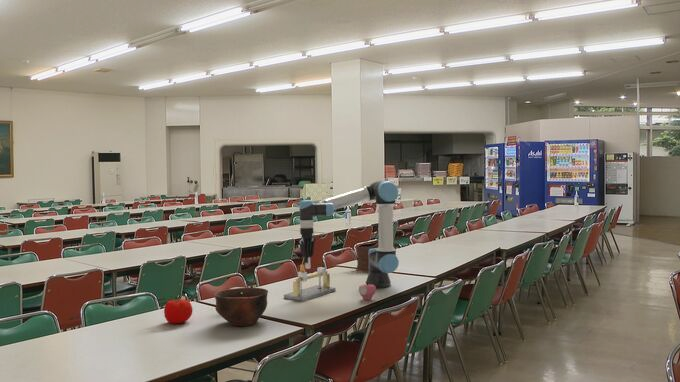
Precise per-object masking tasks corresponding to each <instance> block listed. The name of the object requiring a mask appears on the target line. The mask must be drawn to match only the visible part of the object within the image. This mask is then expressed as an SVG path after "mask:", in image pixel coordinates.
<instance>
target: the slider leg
mask: <svg viewBox="0 0 680 382" xmlns="http://www.w3.org/2000/svg"><path fill="white" fill-rule="evenodd" d="M307 276H308V272H307V271H306V269H305V264H300V265H299V271H298V272H297V277H298V278H301V277H302V281H300V293H302V289H303V287H302V285H303V283H305V282H307V281H308V279H307Z"/></svg>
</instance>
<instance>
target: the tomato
mask: <svg viewBox="0 0 680 382" xmlns="http://www.w3.org/2000/svg"><path fill="white" fill-rule="evenodd" d="M171 299H172V300H168V301H167V302H166V304H165V305H164V308H163V312H164V313H163V314H164V318H165V320H166V321H167V322H168V323H169V324H172V325H174V324H176V323H177V324H182V323H185V322H187V321H189V319H190V318H191V317H192V315H193V312H194V311H193V306H192V304H191V302H190V301H188V300H187V299H182V298H181V297H180V298H173V297H171Z"/></svg>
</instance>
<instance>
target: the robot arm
mask: <svg viewBox="0 0 680 382" xmlns="http://www.w3.org/2000/svg"><path fill="white" fill-rule="evenodd" d="M398 196H399V189H398V187H397V185H396V184H395V183H394V182H392V181H390V180H377V181H374V182H372V183H369V184H367V185H364V186H363V187H362V188H360V189H356V190H355V189H354V190H352V191H349V192H345V193H343V194H342V193H341V194H339V195H335V196H332V197H329V198H325V199H322V200H319V201H318V200H317V201H314V202H313V200H312V199H304V200H303V199H302V200H299V223H300V224H299V226H300V228H299V230H300V232H299V233H300V234H299V235H301V238H300V240H298V245H299V249H300V253H301V254H300V255H301V257H302V258H304V270H306V269H308V270H310V269H311V260H312V257H313V255H314V252H315V250H314V249H315V242H316V238H314V236H313V234H314V217H329V216H333V215H334V212H335V210H338V209H342V208H345V207H348V206H351V205H355V204H357V203H361V202H364V201H365V202H370V201H375V205H376V206H377V208H378V209H377V210H378V211H377V212H378V241H379V247H378V248H374V249H369V254H368V255H369V272H368V275H367V279H366V281H367V283H368V284H369V285H371V284H372V285H374V286H375V287H376V289H377V288H378V289H379V288H388V287H390V286H391V283H392V281H391V278H390V276H389V274H392V273H394V272H395V271H396V270H397V269H398V267H399V262H400V261H399V258H398V257H397V250H396V248H395V247H394V206H395V205H396V199H397V198H398Z"/></svg>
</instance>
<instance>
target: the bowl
mask: <svg viewBox="0 0 680 382" xmlns="http://www.w3.org/2000/svg"><path fill="white" fill-rule="evenodd" d="M241 292H242V294H241ZM268 293H269V290H268V289H266V288H262V287H261V288H260V287H244V288H237V289H231V288H229V289H224V290H220V291H219V290H218V291H217V292H215V293H214V294H213V296H214V297H215V298H214V299H215V306H214V307H215V311H216V313H217V314H218V315H219V316H220V317H222V318H223V319H224V320H225V321H227V322H228V324H229V323H230V324H231V325H232V326H235V327H249V326H252V325H254V324H256V323H258V320H259V319H260V318H261V317H262V315H263V314H264V312H265V311H266V309H267V307H268Z"/></svg>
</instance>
